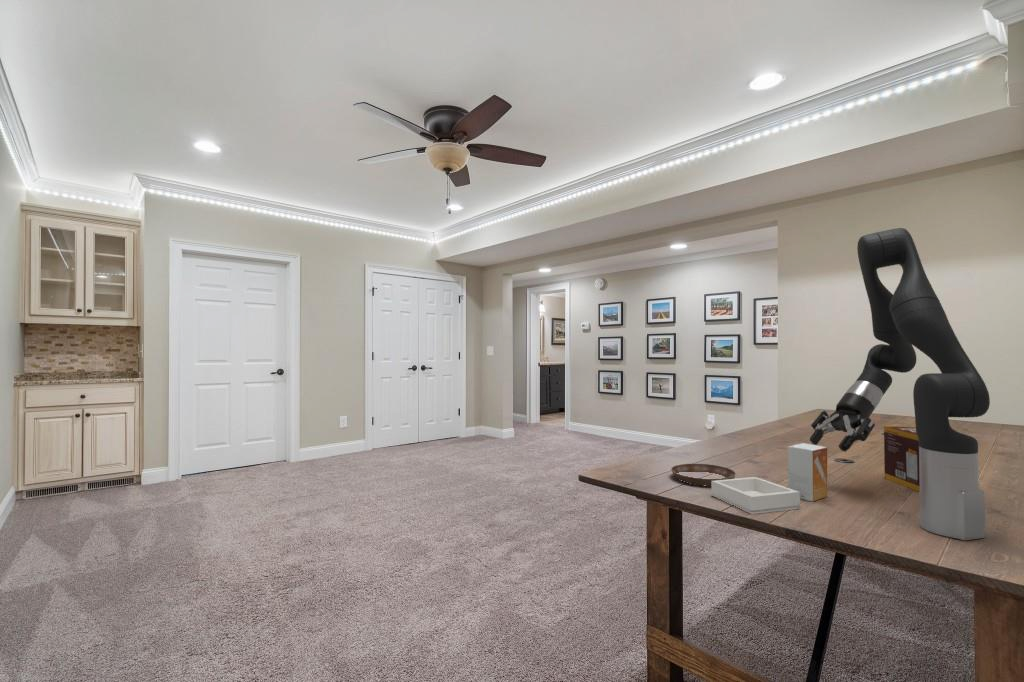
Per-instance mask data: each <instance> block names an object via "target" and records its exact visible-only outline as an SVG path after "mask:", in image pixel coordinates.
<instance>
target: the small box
mask: <svg viewBox="0 0 1024 682" xmlns="http://www.w3.org/2000/svg"><path fill="white" fill-rule="evenodd" d="M787 488H790V489H793V490H795V491H798V492H800V500H803V499H804V500H803V501H808V502H816V501H818V500H821V499H823V498H827V497H828V447H827V446H823V445H818V444H817V445H814V444H812V443H804V442H802V443H797V444H793V445H790V446H787Z"/></svg>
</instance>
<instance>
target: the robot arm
mask: <svg viewBox="0 0 1024 682" xmlns="http://www.w3.org/2000/svg"><path fill="white" fill-rule="evenodd" d="M916 246H917V245H916V244H915V242H914V239H913V237H912V235H911V233H910V232H909V230H907V229H906V228H902V227H897V228H891V229H887V230H882V231H877V232H872V233H867V234H864V235H862V236H860V237H859V239H858V241H857V258H858V262H859V266H860V271H861V274H862V280H863V283H864V287H865V291H866V294H867V297H868V298H867V300H868V302H869V307H870V312H871V313H870V314H871V323H872V333H873V336H874V338H875V339H876V340H878V341H880V342H884V344H883V343H880V344H876V345H874V346H872V347H871V348H870V349H869V351H868V353H867V356H866V361H865V364H864V367H863V369H862V372H861V373H860V375H859V376H858V377H857V378H856V380H855V382H854V383H853V384H852V385H851V386H849V388H848V389H847V390H846V392H845V393H844V395H842V397H841V398H840V400H839V401H838V403H837V404H836V405H835V406H836V407H835V411H834V412H833V413H828V412H827V411H825V410H822V412H820V414H819V415H818V416H817V417H816V419H814V421H813V422H812V423H810V424H811V425H810V426H811V428H813V430H814V432H813V433H812V434H811V436H810V437H809V441H810V443H811V445H817V446H818V444H819V442H821V440H822V438H823V437H824V435H825V434H828V433H833V432H835V431H837V432H844V433H847V435H844V437H843V438H842V440H841V441H840V443H839V444H838V448H839V449H840V451H842V452H845V453H846V452H847V451H848V450H850V449H851V447H852V446H853V445H854V443H856V442H858V441H861V442H865V441H866V440H867V439H868V437H869V435H870V433H871V432H872V431H873V429H874V427H875V426H876V425H875V422H874V421H873V420H872V419H871V418H870V417H871V415H872V414H873V413H874V411H875V410H876V408H877V407H878V405H879V403H880V402H881V401H882V398H883V396H884V395H885V394H886V392H887V391H888V390H889V388H890V386H891V385H892V383H893V377H892V376H891V374H890V373H888V372H887V371H889V372H890V371H891V372H895V373H896V372H897V373H901V374H902V373H908V372H911V371H912V370H913V369H914V368H915V366H916V364H917V354H916V353H917V352H916V350H915V348H916V349H918V350H919V351H920V352H922V354H924V355H926V357H928V358H929V359H930V360H931V361H932V362H933V363H935V365H936V367H937V368H938V369H939V371H940V372H941V373H934V372H933V373H930V372H929V373H924V374H921V375H919V376H918V377H917V379H916V381H915V383H914V386H913V390H912V391H913V392H912V393H913V394H912V395H913V408H914V409H913V410H914V421H915V426H916V432H917V435H918V439H919V477H920V492H919V518H920V519H919V521H920V522H919V526H920V527H921V529H924V530H925V531H928V532H929V533H933V534H936V535H939V536H944V537H947V538H954V539H958V540H961V541H971V540H977V539H983V538H984V537H985V538H986V500H985V498H986V495H985V491H984V490H983V489H979V488H980V487H979V486H980V483H979V479H980V478H979V477H980V476H979V442H978V440H977V439H976V438H975V437H974V436H971V435H967V434H964V433H961V432H958V431H957V430H955V429H953V427H952V426H951V425H950V424H951V423H950V420H949V418H978V417H982V416H984V415H985V414H986V413H987V412H988V411H989V409H990V404H991V403H990V402H991V399H990V393H989V390H988V387H987V385H986V382H985V381H984V379H983V377H982V376H981V374H980V373H979V371H978V370H977V368H976V366H975V365H974V364H973V362H972V361H971V359H970V357H969V356H968V355H967V353H966V352H965V350H964V348H963V346H962V344H961V342H960V341H959V339H958V337H957V336H956V333H955V331H954V329H953V327H952V325H951V323H950V321H949V319H948V316H947V314H946V312H945V310H944V307H943V306H942V303H941V301H940V298H939V297H938V295H937V294H936V292H935V290H934V289H933V286H932V284H931V282H930V280H929V279H928V278H929V277H928V276H927V274H926V272H925V270H924V269H925V268H924V267H923V263H922V260H921V258H920V255H919V252H918V249H917V247H916ZM897 265H899V266H901V268H902V275H901V277H900V280H899V283H898V285H897V286H896V289H895V291H894V292H893V293H892V292H891V291H890V290H889V289H888V288H887V287H886V286H885V285H884V284H883V282H882V281H881V279H880V278H879V275H878V269H880V268H885V267H886V268H887V267H891V266H897ZM914 347H915V348H914ZM829 424H830V425H831V426H830V425H829ZM985 538H984V539H985Z"/></svg>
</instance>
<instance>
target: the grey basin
mask: <svg viewBox="0 0 1024 682" xmlns="http://www.w3.org/2000/svg"><path fill="white" fill-rule="evenodd" d="M710 488H711V492H710V493H711V495H712V496H715V497H717V498H719V499H721V500H723V501H725V502H724V503H726V502H727V504H728V503H729V504H728V505H730V504H731V505H730V506H732V505H734V506H733V507H735V506H736V507H735V508H737V507H738V508H737V509H739V508H740V510H741V509H742V511H744V512H746V513H747V514H751V515H757V514H765V513H772V512H773V513H774V512H783V511H790V510H797V509H798V510H800V509H801V503H800V502H801V499H800V492H798V491H795V490H793V489H790V488H788V486H787V487H786V486H784V485H781V484H778V483H775V482H772V481H769V480H765V479H763V478H760V477H758V476H751V477H737V478H733V479H726V480H715V481H711V487H710ZM711 495H710V496H711ZM712 496H711V497H712ZM717 498H716V499H717ZM719 499H718V500H719ZM721 500H720V501H721ZM723 501H722V502H723Z"/></svg>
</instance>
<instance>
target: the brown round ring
mask: <svg viewBox="0 0 1024 682" xmlns="http://www.w3.org/2000/svg"><path fill="white" fill-rule="evenodd" d="M670 470H671V472H672V474H673V475H674V476H675V478H676V479H677V478H678V479H680V480H682V481H685V482H688V483H691V484H696V485H695V486H697V485H706V486H711V481H715V480H726V479H735V476H736V475H737V472H736V471H734V470H733V469H731V468H728V467H725V466H720V465H715V464H708V463H707V464H706V463H683V464H677V465H673V466H672V467H670ZM679 472H709V473H715V474H719V475H722V476H724V477H725V478H722V479H702V478H693V477H688V476H683V475H680V474H677V473H679ZM678 479H677V480H678ZM680 480H679V481H680ZM682 481H681V482H682ZM691 484H690V485H691ZM706 486H705V487H706Z"/></svg>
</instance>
